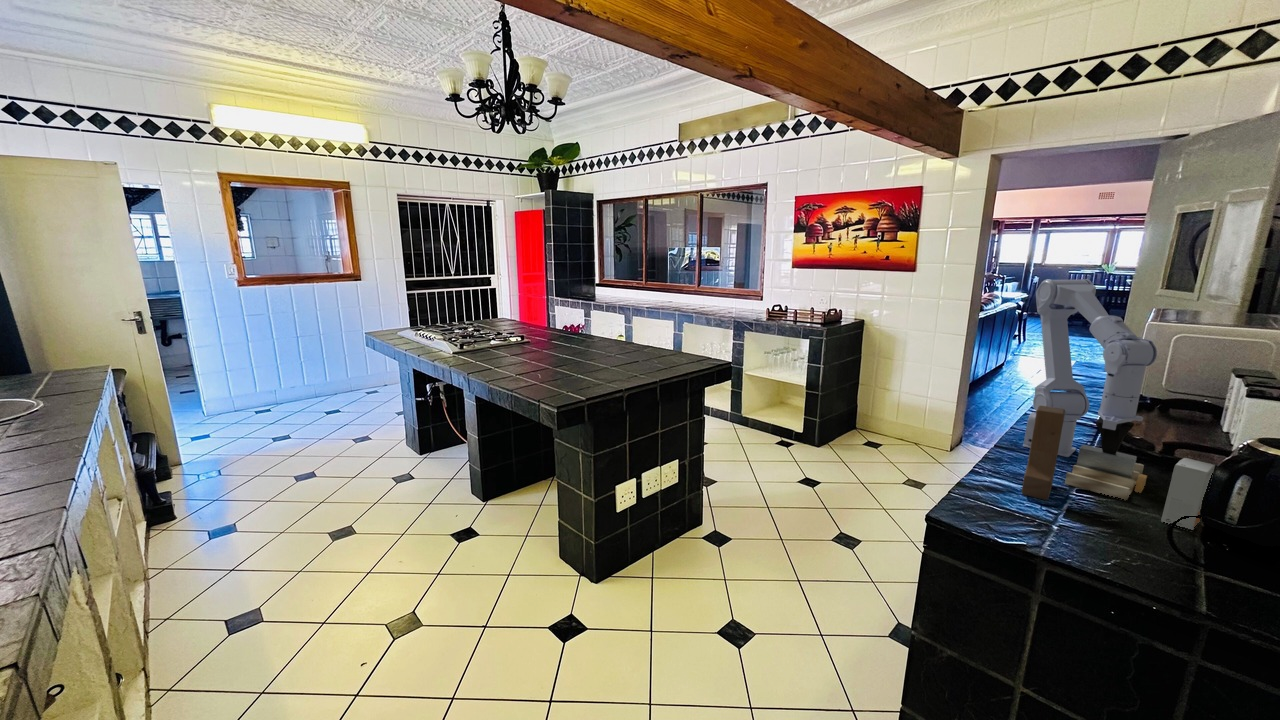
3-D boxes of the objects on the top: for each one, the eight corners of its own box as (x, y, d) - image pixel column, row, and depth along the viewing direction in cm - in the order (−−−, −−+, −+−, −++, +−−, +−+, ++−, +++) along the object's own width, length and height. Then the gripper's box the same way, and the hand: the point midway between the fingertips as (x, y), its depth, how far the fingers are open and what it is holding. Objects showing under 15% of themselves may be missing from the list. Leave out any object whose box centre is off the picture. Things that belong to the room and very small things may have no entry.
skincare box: (1192, 532, 90) (1208, 472, 88) (1160, 522, 94) (1173, 464, 91) (1201, 522, 93) (1216, 464, 91) (1169, 513, 97) (1182, 456, 94)
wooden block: (1047, 501, 102) (1062, 419, 98) (1020, 494, 105) (1034, 415, 101) (1051, 486, 109) (1065, 408, 105) (1026, 480, 112) (1038, 404, 108)
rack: (1064, 483, 110) (1066, 472, 109) (1084, 461, 120) (1086, 451, 120) (1135, 503, 101) (1137, 491, 100) (1149, 477, 112) (1152, 466, 111)
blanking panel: (1075, 471, 114) (1079, 447, 112) (1078, 468, 116) (1082, 444, 114) (1128, 485, 107) (1134, 460, 106) (1131, 481, 109) (1136, 456, 107)
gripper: (1140, 405, 99) (1127, 467, 102) (1152, 391, 108) (1140, 449, 111) (1094, 397, 105) (1083, 456, 108) (1109, 385, 113) (1098, 440, 116)
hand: (1109, 452), depth 110 cm, fingers closed
